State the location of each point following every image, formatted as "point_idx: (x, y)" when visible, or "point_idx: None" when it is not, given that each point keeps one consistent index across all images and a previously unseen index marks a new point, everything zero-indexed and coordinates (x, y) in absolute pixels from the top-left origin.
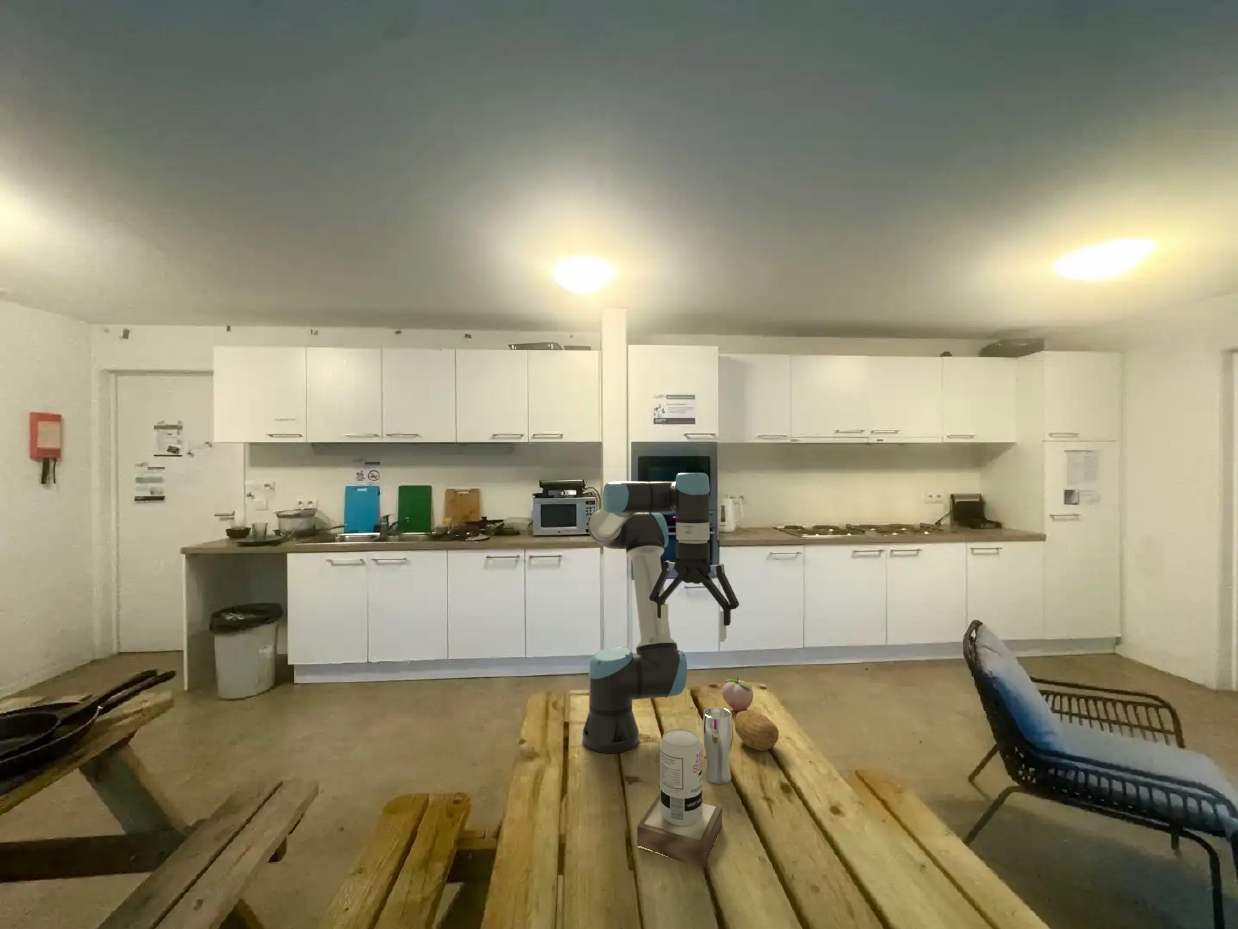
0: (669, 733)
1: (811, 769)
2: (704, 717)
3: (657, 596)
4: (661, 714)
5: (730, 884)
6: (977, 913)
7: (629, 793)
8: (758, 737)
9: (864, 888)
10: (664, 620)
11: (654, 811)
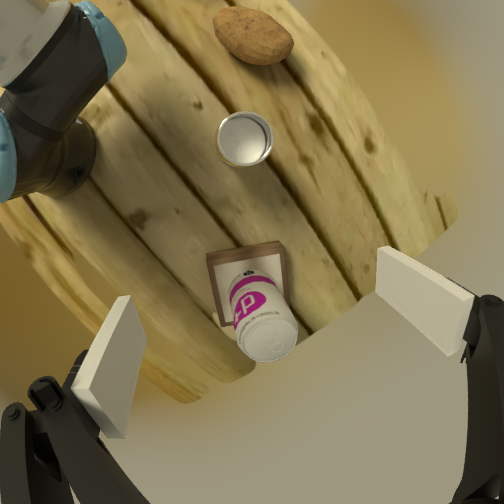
0: (248, 339)
1: (329, 70)
2: (225, 158)
3: (48, 446)
4: None
5: (309, 304)
6: (443, 227)
7: (155, 246)
8: (269, 61)
9: (395, 246)
10: (135, 375)
11: (223, 301)
